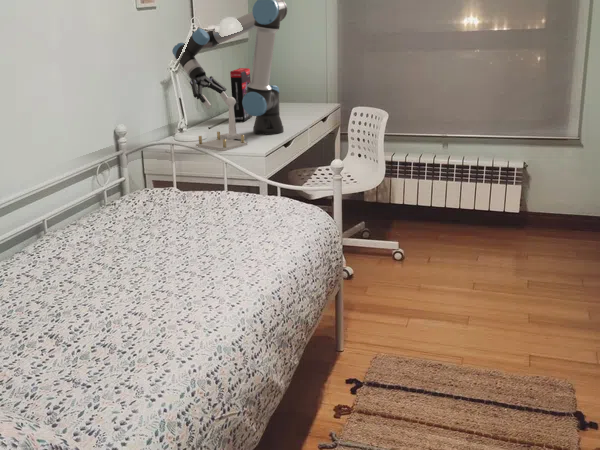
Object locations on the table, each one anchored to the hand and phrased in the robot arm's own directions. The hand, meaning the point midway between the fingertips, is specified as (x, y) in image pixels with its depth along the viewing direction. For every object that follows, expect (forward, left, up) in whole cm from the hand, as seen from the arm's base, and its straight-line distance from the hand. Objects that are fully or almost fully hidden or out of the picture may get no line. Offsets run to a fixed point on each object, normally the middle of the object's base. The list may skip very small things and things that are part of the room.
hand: (219, 105), depth 327 cm
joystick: (-1, +6, -16) cm, 17 cm away
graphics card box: (-47, -28, -16) cm, 57 cm away
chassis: (+12, +12, -16) cm, 24 cm away
